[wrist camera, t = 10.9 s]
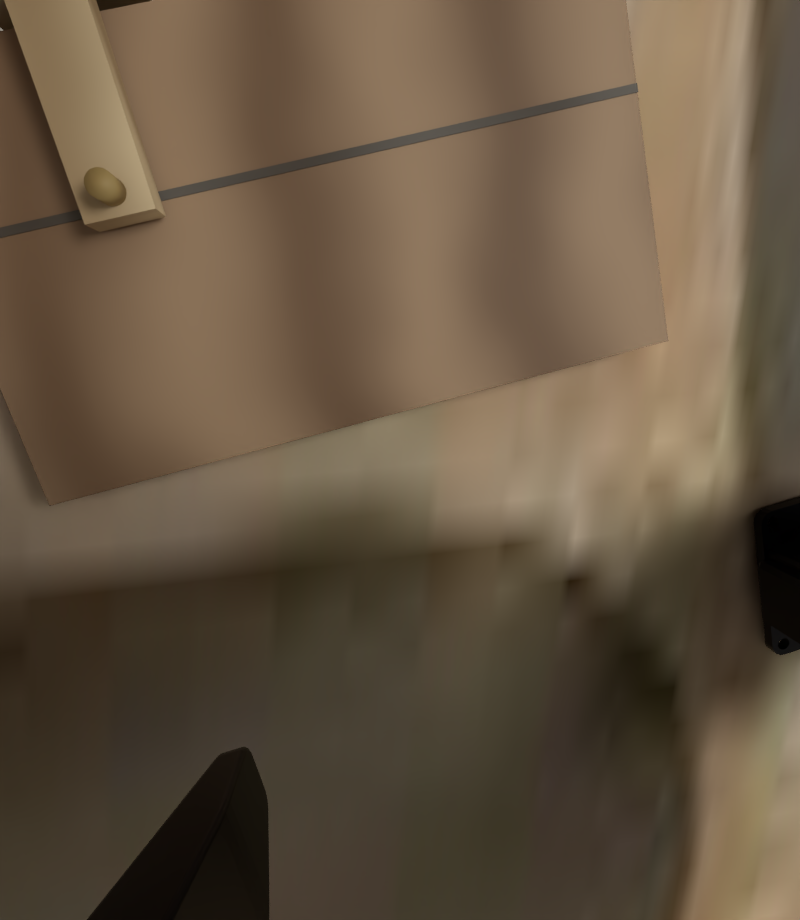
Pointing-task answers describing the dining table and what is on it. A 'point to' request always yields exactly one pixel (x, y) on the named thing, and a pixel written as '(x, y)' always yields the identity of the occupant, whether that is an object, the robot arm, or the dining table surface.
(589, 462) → the dining table surface
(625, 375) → the dining table surface
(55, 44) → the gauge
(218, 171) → the board
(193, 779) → the dining table surface
